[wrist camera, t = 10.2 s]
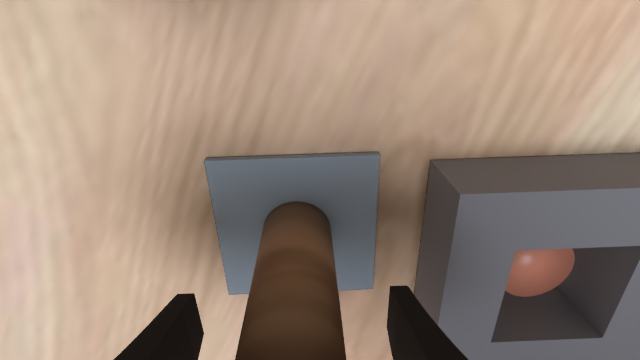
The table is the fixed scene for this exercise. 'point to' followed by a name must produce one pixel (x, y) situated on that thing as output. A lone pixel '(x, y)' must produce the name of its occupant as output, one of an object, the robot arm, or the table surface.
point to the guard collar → (533, 234)
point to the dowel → (293, 290)
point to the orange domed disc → (539, 271)
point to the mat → (289, 186)
